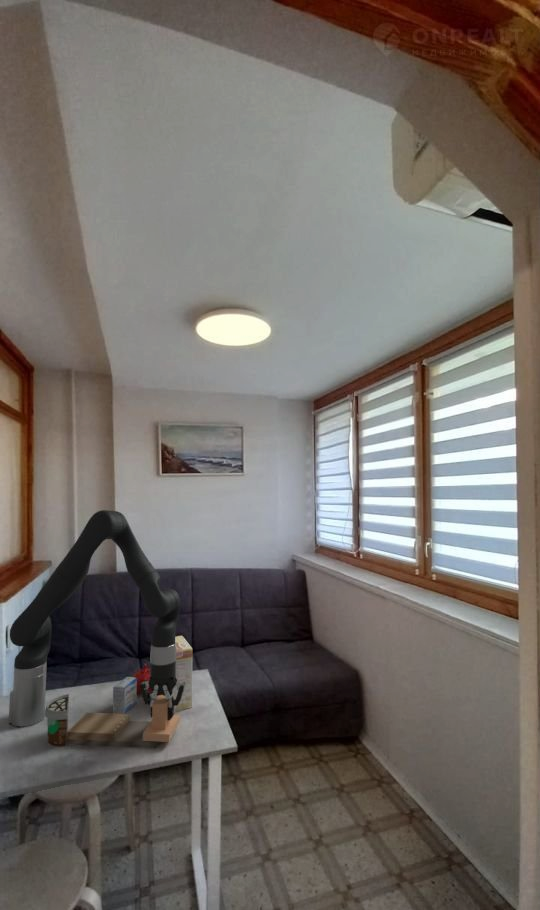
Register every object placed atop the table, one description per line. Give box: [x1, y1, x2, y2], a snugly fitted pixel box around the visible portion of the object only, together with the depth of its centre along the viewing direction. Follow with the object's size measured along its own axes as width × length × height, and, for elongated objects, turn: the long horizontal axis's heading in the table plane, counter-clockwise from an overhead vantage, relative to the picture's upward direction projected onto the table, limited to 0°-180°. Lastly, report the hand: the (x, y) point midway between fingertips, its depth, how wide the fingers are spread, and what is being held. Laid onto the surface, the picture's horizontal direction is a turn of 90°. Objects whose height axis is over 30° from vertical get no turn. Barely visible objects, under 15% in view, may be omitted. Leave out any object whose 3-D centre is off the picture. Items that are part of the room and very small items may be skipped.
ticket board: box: [66, 712, 160, 749], centre depth 128 cm, size 26×11×4 cm, turn 86°
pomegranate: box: [132, 663, 153, 695], centre depth 157 cm, size 10×10×9 cm
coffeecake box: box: [173, 635, 193, 712], centre depth 150 cm, size 15×7×20 cm, turn 25°
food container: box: [44, 693, 70, 747], centre depth 126 cm, size 12×6×10 cm, turn 23°
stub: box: [143, 695, 181, 743], centre depth 127 cm, size 8×11×9 cm
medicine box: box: [112, 676, 138, 714], centre depth 144 cm, size 8×4×9 cm, turn 168°
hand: (162, 718), depth 127 cm, fingers closed on stub, 4 cm apart
